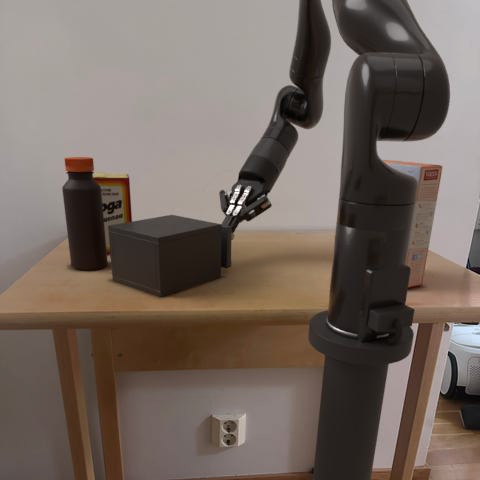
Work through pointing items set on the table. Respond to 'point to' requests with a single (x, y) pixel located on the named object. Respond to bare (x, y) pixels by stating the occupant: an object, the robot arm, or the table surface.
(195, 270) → the cabinet
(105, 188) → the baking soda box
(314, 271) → the table surface
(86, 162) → the bottle
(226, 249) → the drawer
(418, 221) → the cracker box
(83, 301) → the table surface
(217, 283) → the table surface
